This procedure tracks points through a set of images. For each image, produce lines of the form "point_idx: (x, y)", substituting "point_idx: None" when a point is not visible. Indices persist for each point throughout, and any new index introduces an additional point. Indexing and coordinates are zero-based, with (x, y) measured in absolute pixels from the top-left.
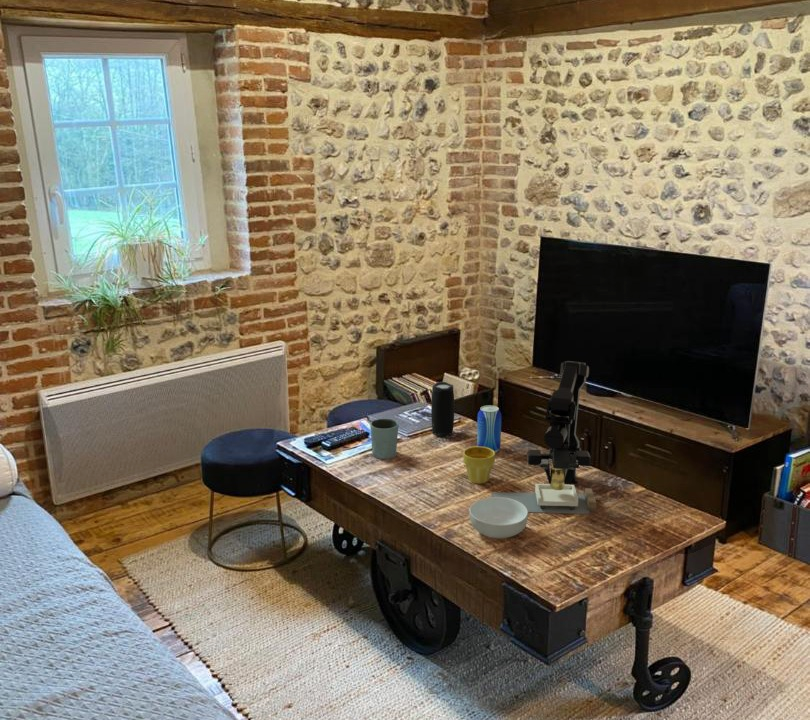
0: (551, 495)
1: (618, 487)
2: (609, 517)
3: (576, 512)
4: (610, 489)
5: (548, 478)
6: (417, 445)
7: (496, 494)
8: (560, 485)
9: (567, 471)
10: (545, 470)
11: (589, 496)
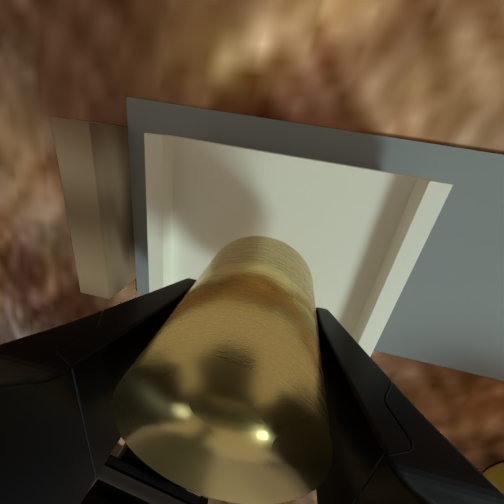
0: (304, 250)
1: (21, 318)
2: (31, 43)
3: (193, 116)
4: (45, 311)
5: (349, 341)
6: None
7: None
8: (241, 250)
9: (84, 354)
10: (468, 467)
11: (89, 208)
